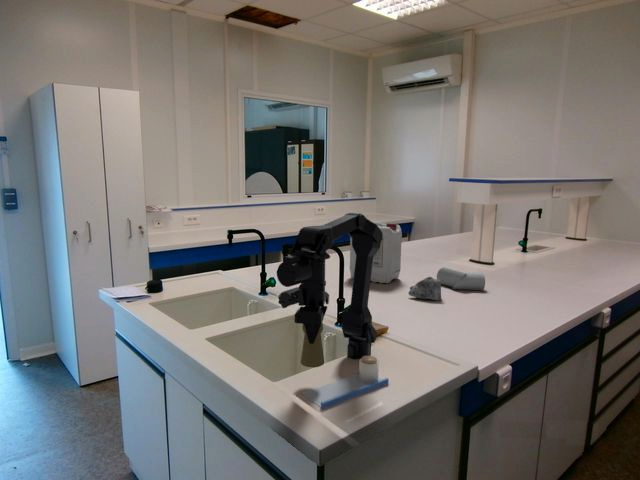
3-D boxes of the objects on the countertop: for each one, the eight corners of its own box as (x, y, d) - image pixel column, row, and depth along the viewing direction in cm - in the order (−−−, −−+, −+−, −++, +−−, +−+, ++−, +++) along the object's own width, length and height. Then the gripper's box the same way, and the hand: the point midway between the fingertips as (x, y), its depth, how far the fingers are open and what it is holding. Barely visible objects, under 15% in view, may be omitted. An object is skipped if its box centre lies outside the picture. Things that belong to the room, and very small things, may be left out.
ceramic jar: (369, 373, 117) (369, 353, 116) (382, 380, 113) (383, 359, 112) (354, 378, 114) (355, 357, 113) (368, 385, 110) (368, 364, 109)
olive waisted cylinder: (299, 357, 112) (299, 316, 111) (322, 356, 113) (322, 315, 112) (301, 368, 106) (302, 324, 105) (326, 366, 107) (326, 323, 106)
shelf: (365, 375, 118) (365, 366, 118) (388, 387, 111) (388, 378, 111) (301, 398, 106) (301, 388, 105) (322, 413, 99) (322, 403, 98)
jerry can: (402, 278, 230) (404, 222, 226) (388, 285, 215) (390, 225, 210) (362, 272, 243) (363, 219, 239) (345, 279, 227) (347, 222, 223)
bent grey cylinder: (442, 289, 204) (486, 290, 203) (442, 266, 205) (486, 267, 204) (434, 288, 222) (474, 289, 221) (435, 267, 223) (474, 268, 222)
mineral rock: (407, 298, 194) (407, 276, 192) (418, 293, 202) (419, 272, 200) (433, 303, 185) (435, 280, 184) (444, 298, 193) (446, 276, 192)
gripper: (288, 269, 117) (288, 325, 119) (272, 287, 98) (272, 352, 101) (329, 270, 115) (329, 327, 118) (321, 289, 97) (320, 355, 99)
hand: (312, 339), depth 109 cm, fingers closed on olive waisted cylinder, 5 cm apart
